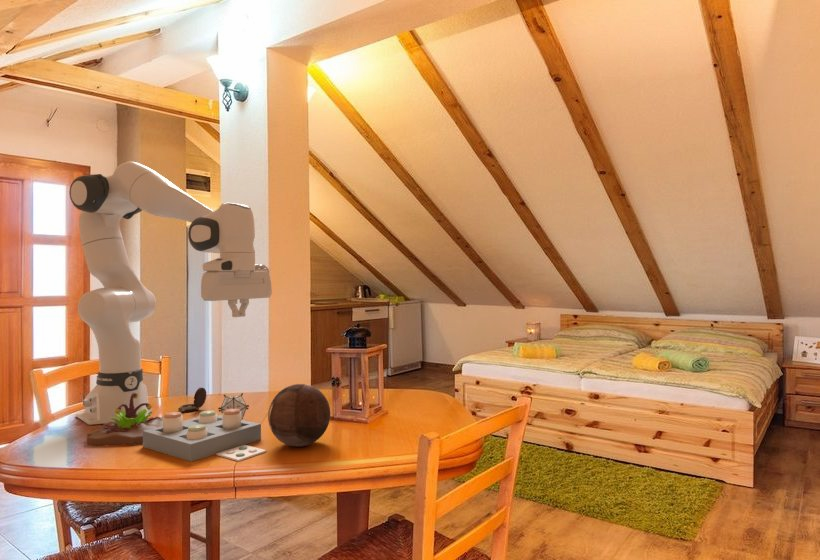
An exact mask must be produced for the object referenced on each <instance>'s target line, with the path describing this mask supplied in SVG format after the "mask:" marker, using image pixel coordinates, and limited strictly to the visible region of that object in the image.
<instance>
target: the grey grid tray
mask: <svg viewBox="0 0 820 560" xmlns="http://www.w3.org/2000/svg"><path fill="white" fill-rule="evenodd" d="M241 422H242V427H239V428H236V429H232V430H227V429H223V426H222V414H217V421H216V422H212V423H208V424H201V423H199V416H197V417H193V418H188V419H185V420H184V419H183V430H182V431H178V432H174V433H170V434H167V433H164V432H163V426H160V427H156V428H152V429H148V430H144V431H143V444H142V448H145V449H149V450H151V451H154V452H158V453H161V454H165V455H167V454H168V456H171V457H174V458H177V459H180V458H181V459H180V460H184V461H188V462H195V461H198V460H201V459H204V458H206V457H207V458H208V457H210V456H213V455H217V453H220V452H223V451H226V450H229V449H232V448H236V447H239V446H242V445H248V444H252V443H254V442H258V441H261V440H262V424H261V423H259V422H253V421H249V420H244V419H242V420H241ZM192 425H206V427H207V437H204V438H201V439H197V440H194V441H193V440H189V439H187V429H188V427H189V426H192Z"/></svg>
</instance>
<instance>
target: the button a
mask: <svg viewBox="0 0 820 560" xmlns="http://www.w3.org/2000/svg"><path fill="white" fill-rule="evenodd" d="M162 417H163V432H164V433H167V434H170V433H174V432H178V431H182V430H183V421H184V417H183V414H182V412H179V411H171V412H166V413H164V414H163V416H162Z"/></svg>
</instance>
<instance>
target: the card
mask: <svg viewBox="0 0 820 560" xmlns="http://www.w3.org/2000/svg"><path fill="white" fill-rule="evenodd" d="M264 453H267V449H263V448H260V447H255V446H251V445H248V444H245V445H242V446H239V447H236V448H232V449H229V450H226V451H223V452H220V453H217V454H216V456H218V457H222V458H225V459H228V460H232V461H235V462H241V461H244V460H247V459H250V458H253V457H256V456H258V455H261V454H264Z"/></svg>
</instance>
